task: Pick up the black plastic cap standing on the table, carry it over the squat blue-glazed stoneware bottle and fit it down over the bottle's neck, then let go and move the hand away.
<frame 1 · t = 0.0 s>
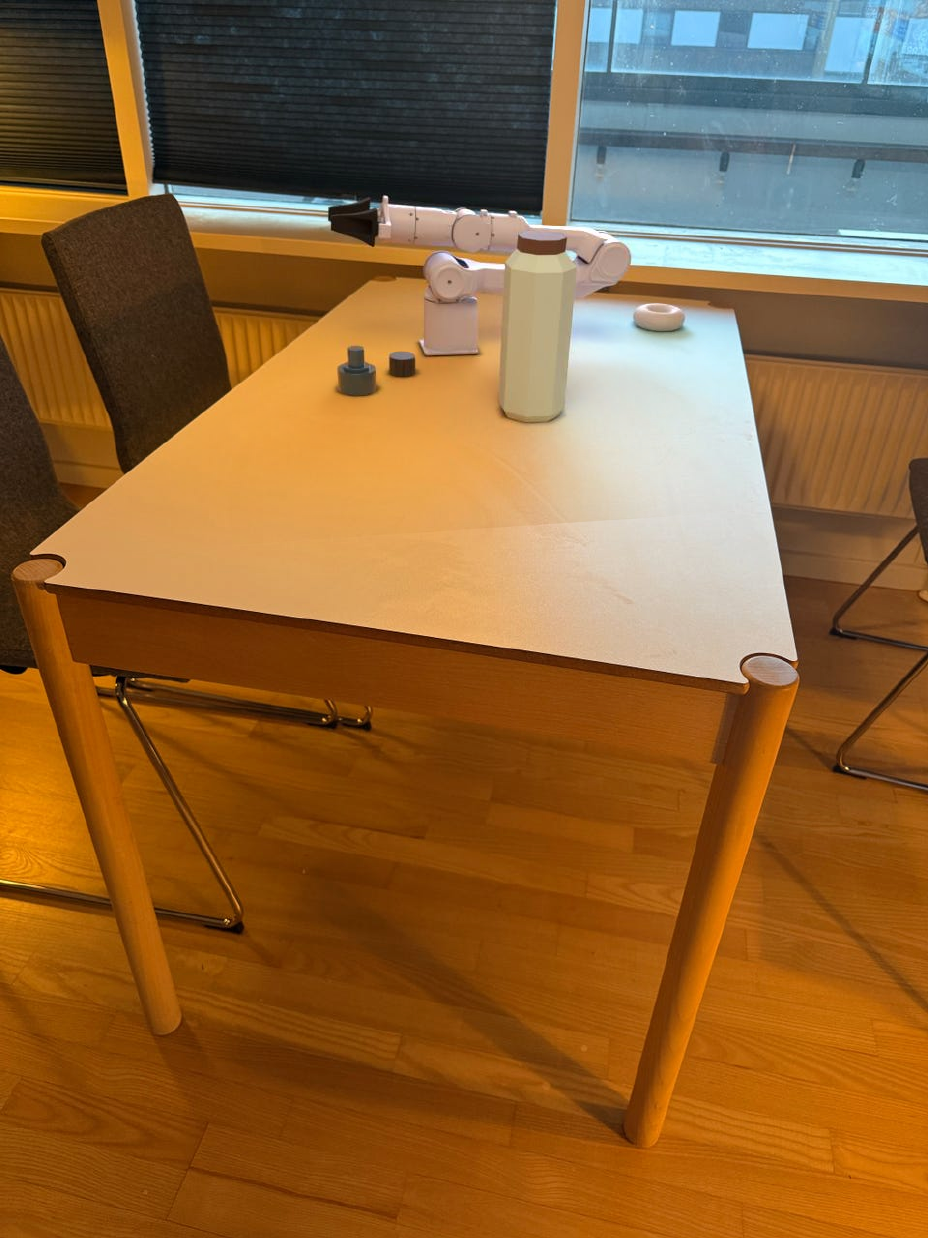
hand: (329, 218, 143), 22 cm above the table, tool horizontal, fingers open, 7 cm apart
water bottle: (530, 413, 134), on the table
cap: (402, 372, 148), on the table
donut: (657, 326, 174), on the table
bottle: (357, 389, 141), on the table
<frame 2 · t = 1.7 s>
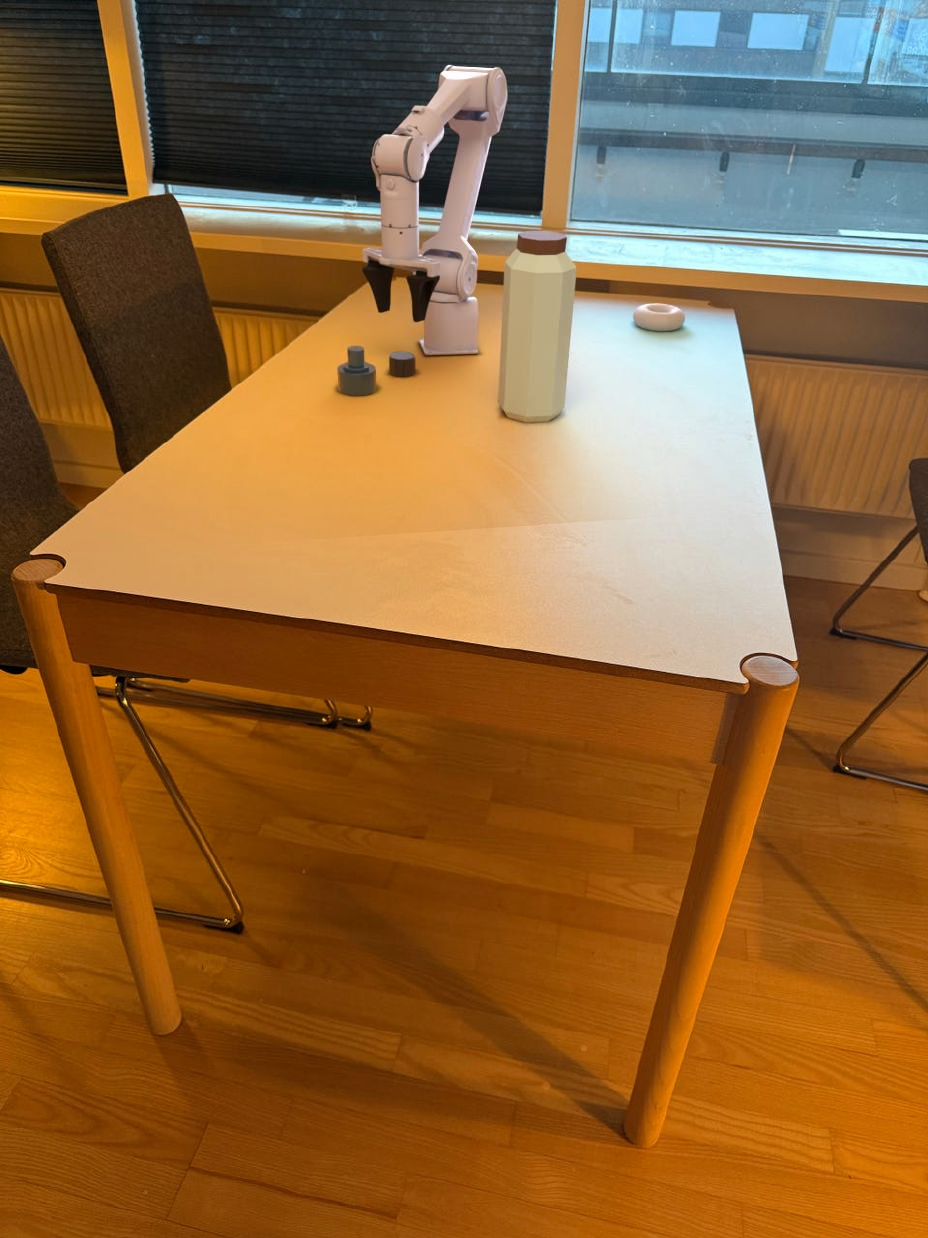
hand: (401, 315, 142), 9 cm above the table, tool pointing down, fingers open, 7 cm apart
nothing on the table moved.
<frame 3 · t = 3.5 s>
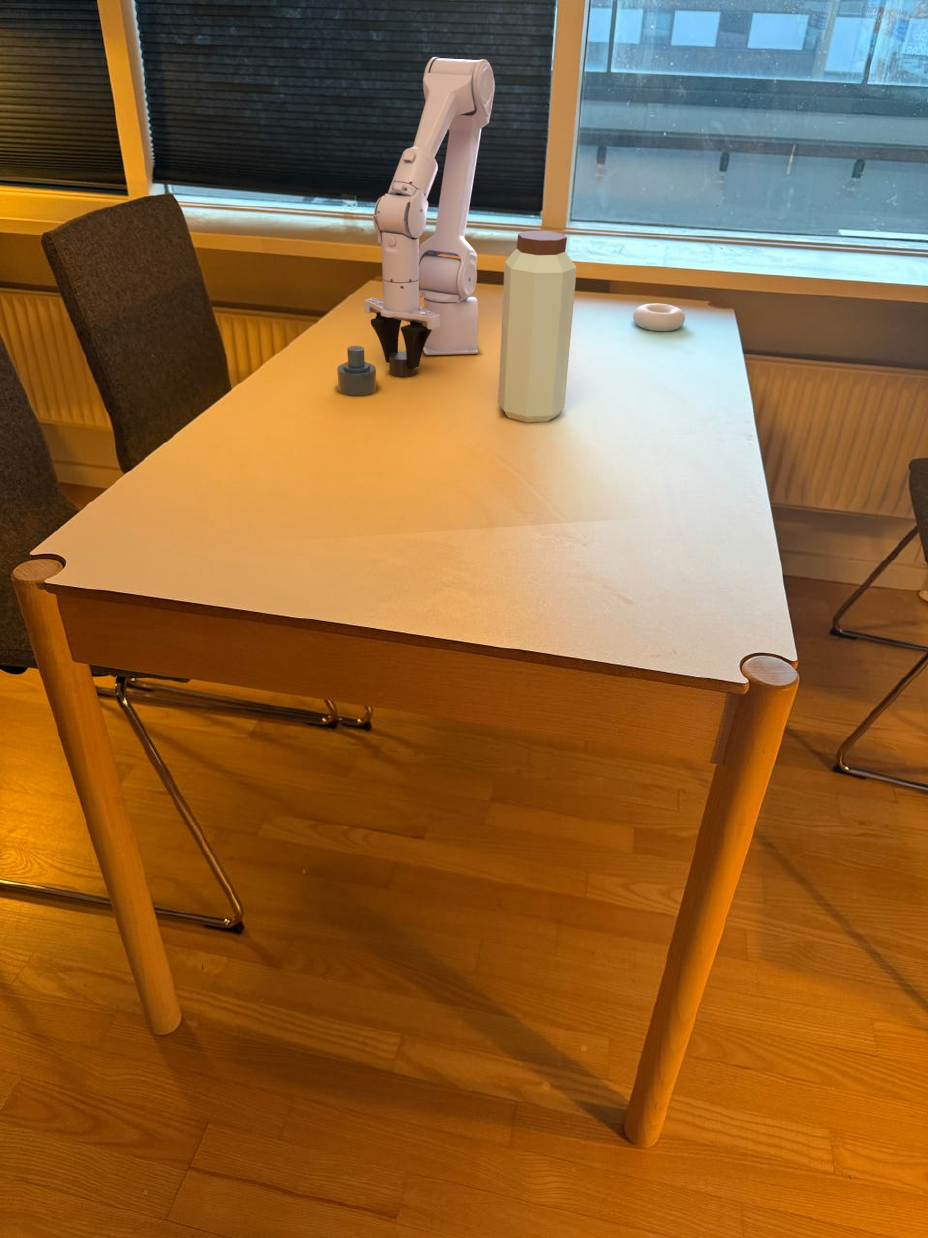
hand: (402, 364, 147), 1 cm above the table, tool pointing down, fingers closed on cap, 4 cm apart
cap: (402, 372, 148), on the table, touching gripper
everything else where it was.
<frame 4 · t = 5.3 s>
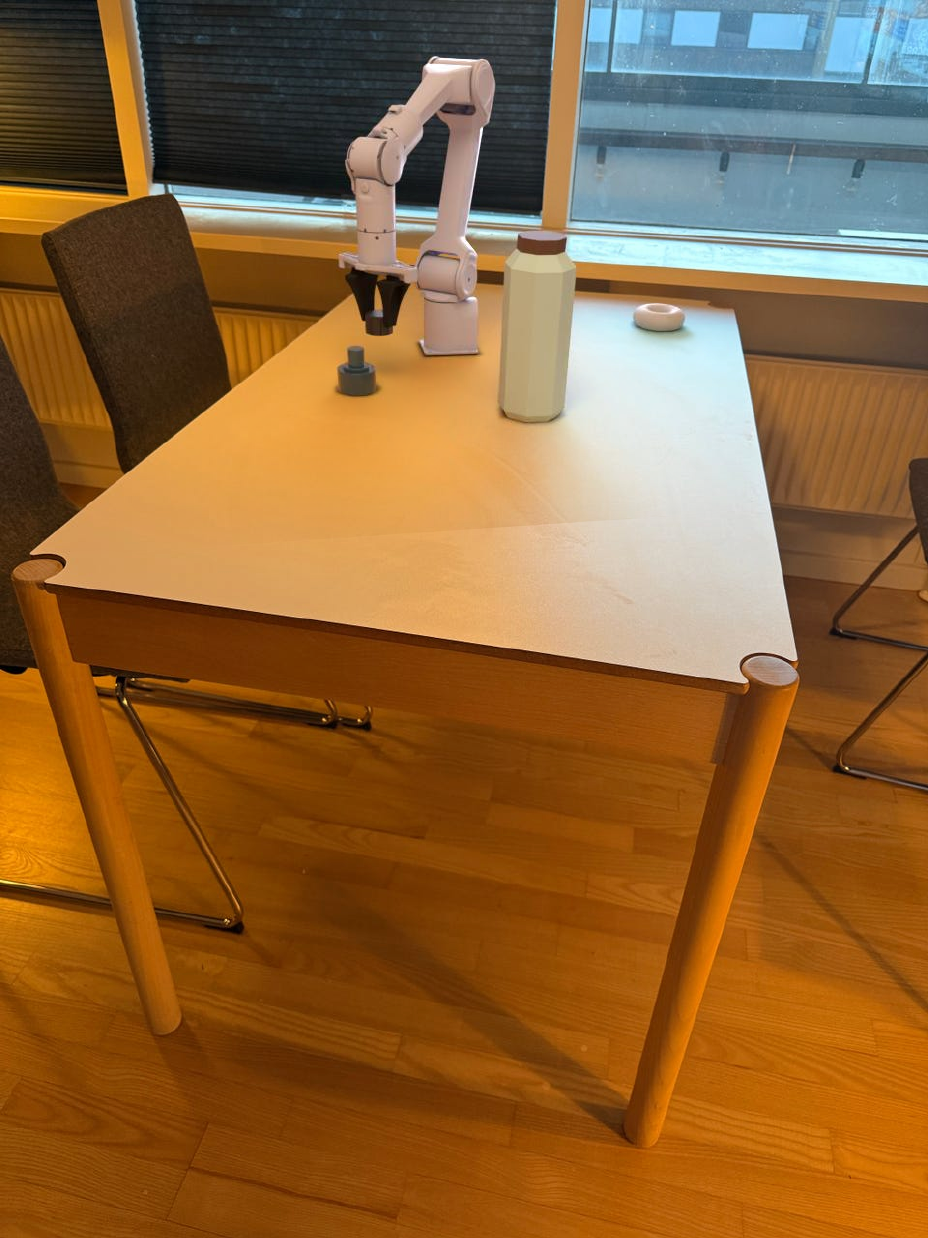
hand: (378, 322, 139), 9 cm above the table, tool pointing down, fingers closed on cap, 4 cm apart
cap: (379, 331, 140), point 8 cm above the table, touching gripper
everything else where it was.
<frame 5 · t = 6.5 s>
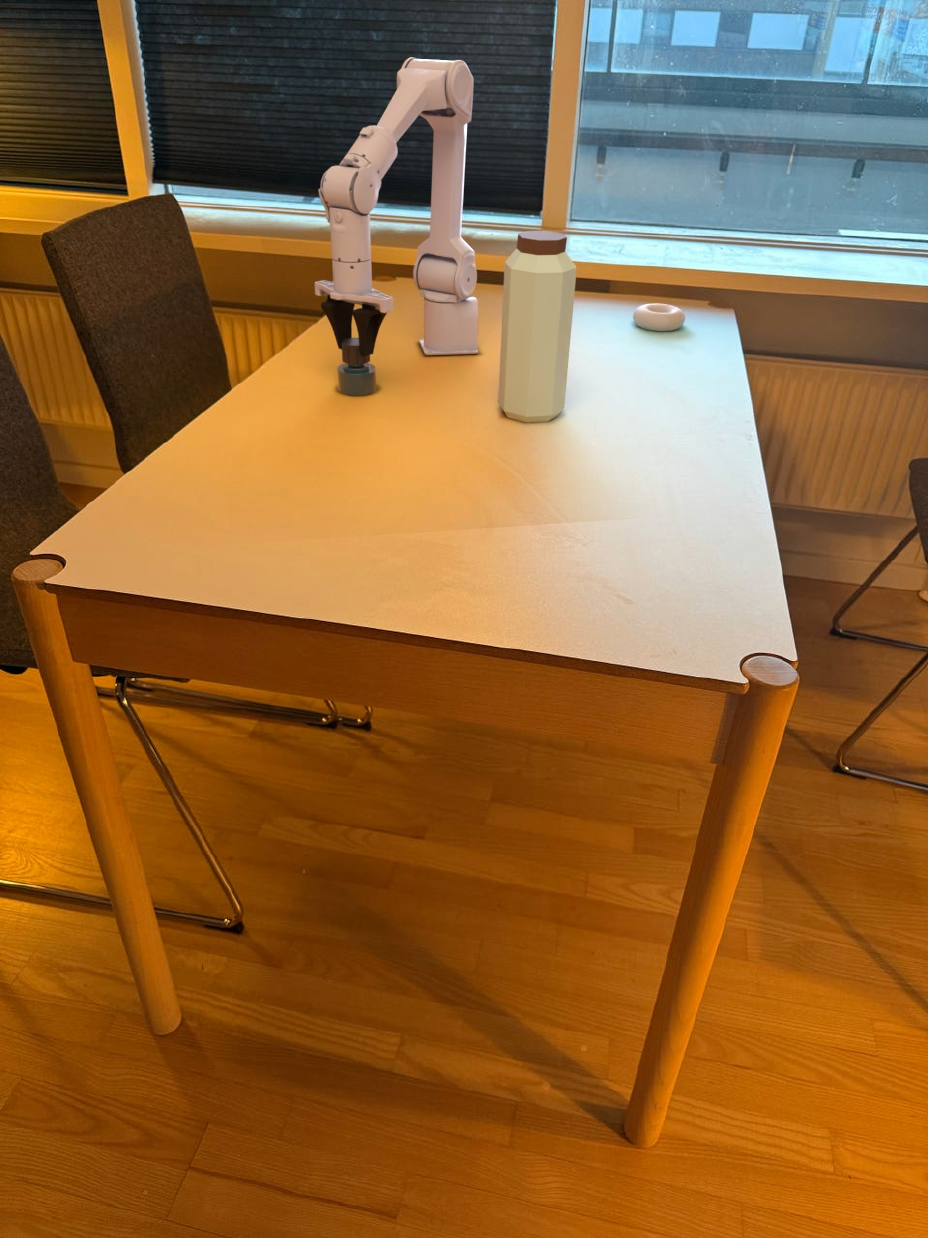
hand: (355, 351, 137), 6 cm above the table, tool pointing down, fingers closed on cap, 4 cm apart
cap: (356, 360, 138), point 5 cm above the table, touching gripper
everything else where it was.
when the fingers open (5 cm above the table, at t = 7.2 s): cap stays where it is, resting on bottle.
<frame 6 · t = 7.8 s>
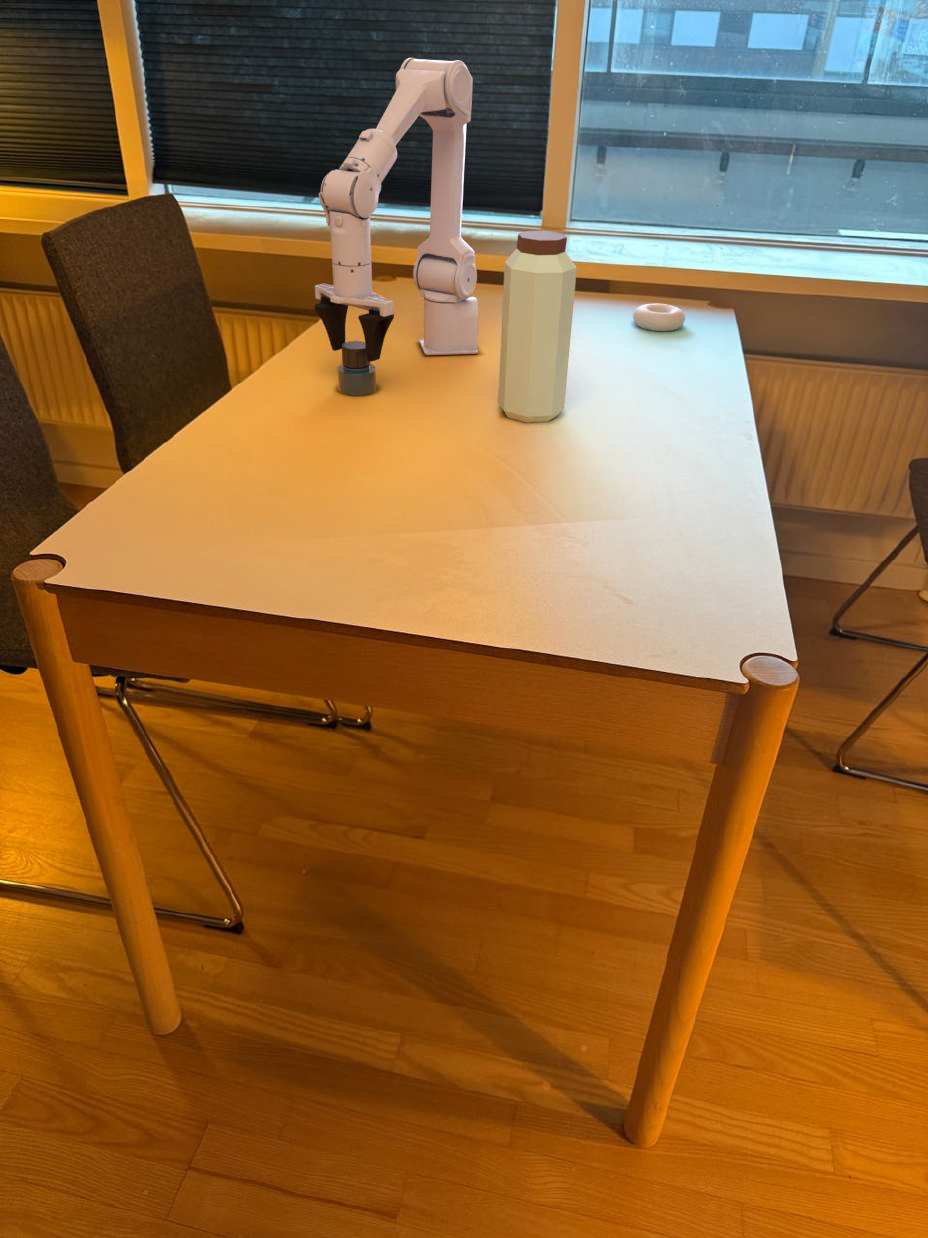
hand: (355, 354, 137), 6 cm above the table, tool pointing down, fingers open, 7 cm apart
cap: (356, 363, 138), point 4 cm above the table, touching bottle
everything else where it was.
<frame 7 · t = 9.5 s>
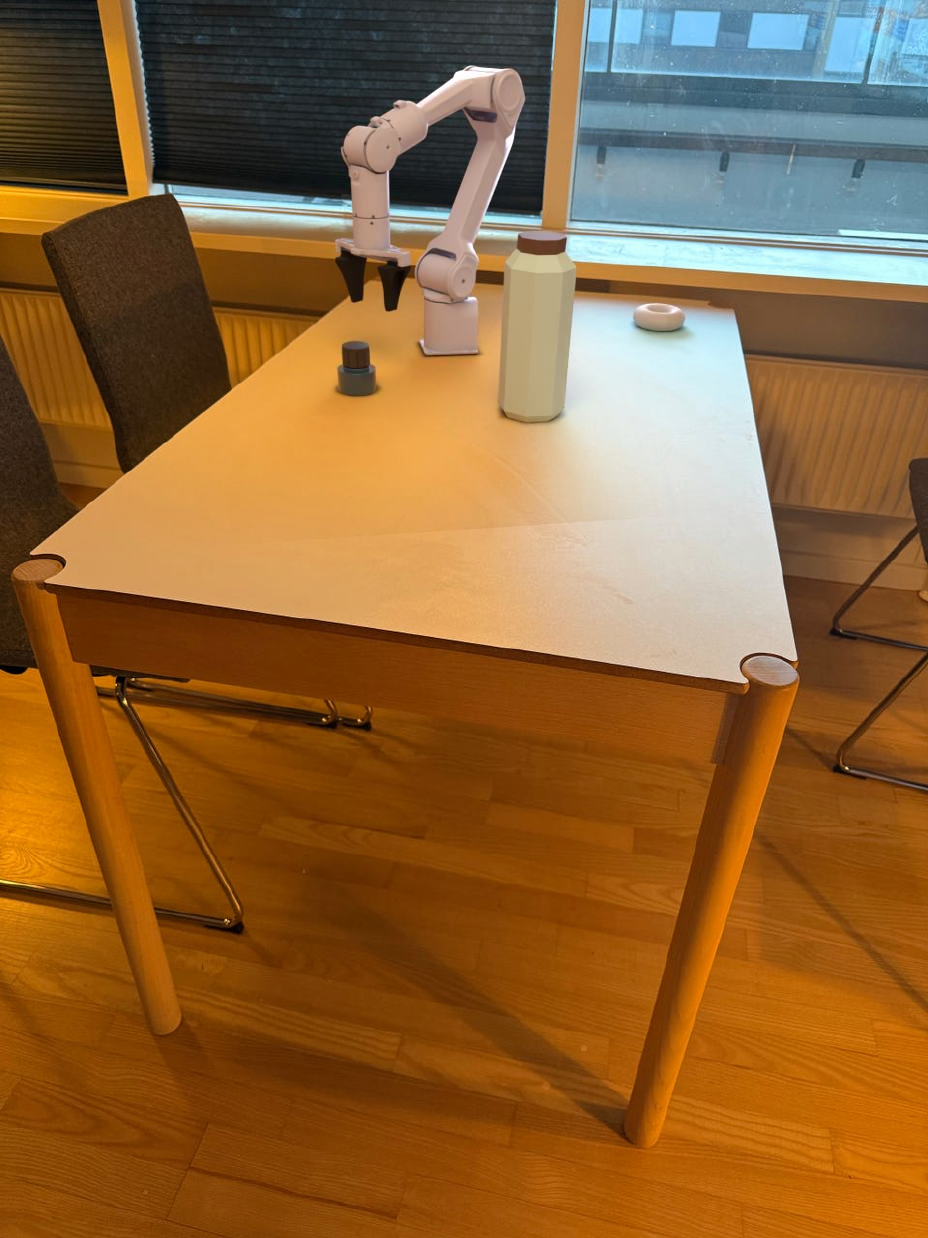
hand: (373, 305, 145), 10 cm above the table, tool pointing down, fingers open, 7 cm apart
nothing on the table moved.
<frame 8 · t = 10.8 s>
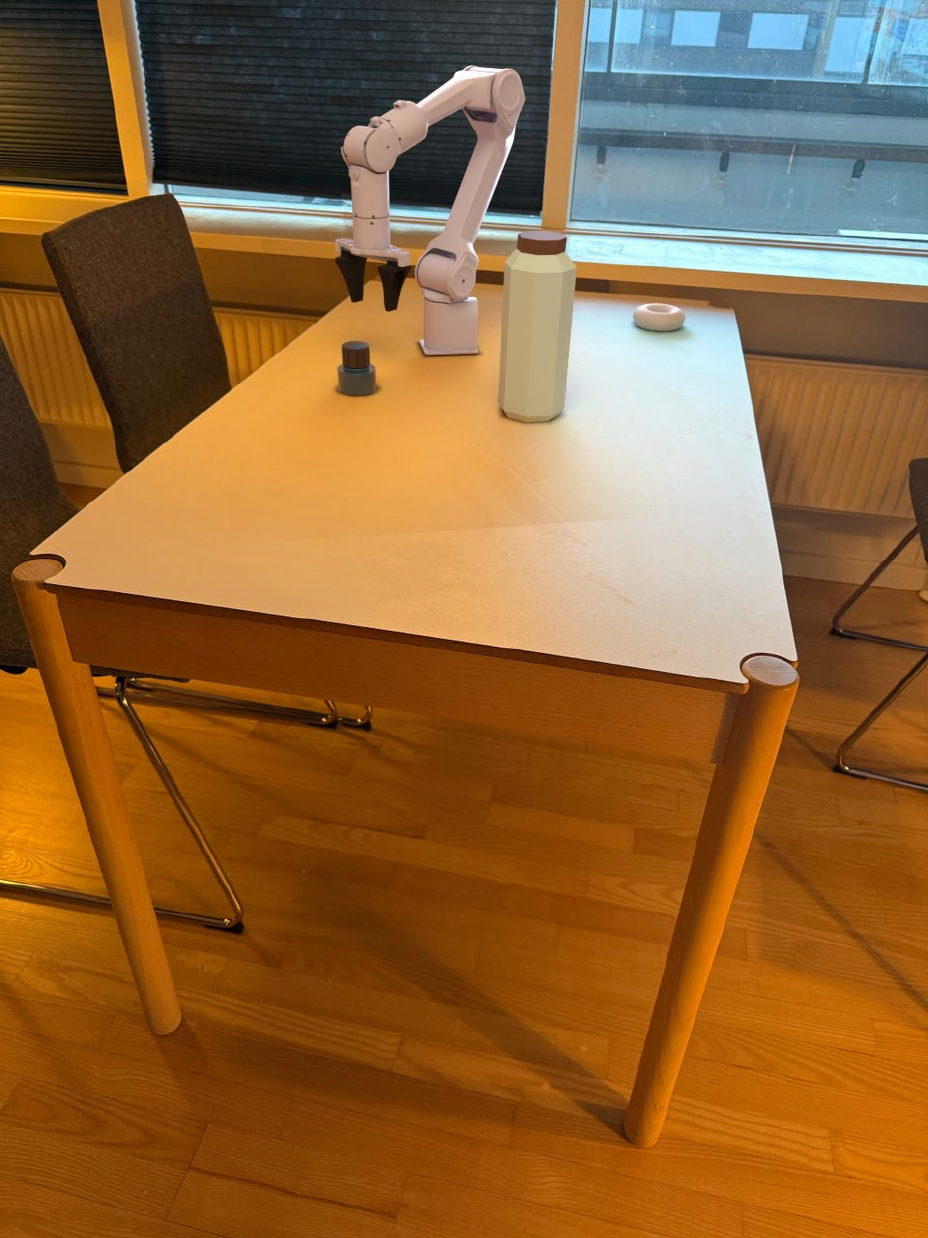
hand: (373, 305, 145), 10 cm above the table, tool pointing down, fingers open, 7 cm apart
nothing on the table moved.
at the end: cap 0.0 cm off-centre on the bottle, point 4.1 cm above the bottle's base; cap tilted 0°; the gripper is holding nothing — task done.
